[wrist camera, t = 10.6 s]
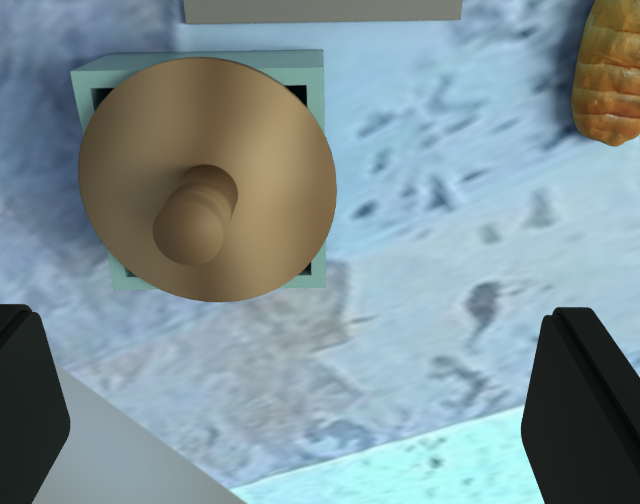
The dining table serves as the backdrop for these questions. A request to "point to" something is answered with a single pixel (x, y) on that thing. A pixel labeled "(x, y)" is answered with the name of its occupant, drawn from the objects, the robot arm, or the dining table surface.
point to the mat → (318, 10)
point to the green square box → (283, 65)
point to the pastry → (609, 73)
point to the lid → (207, 179)
